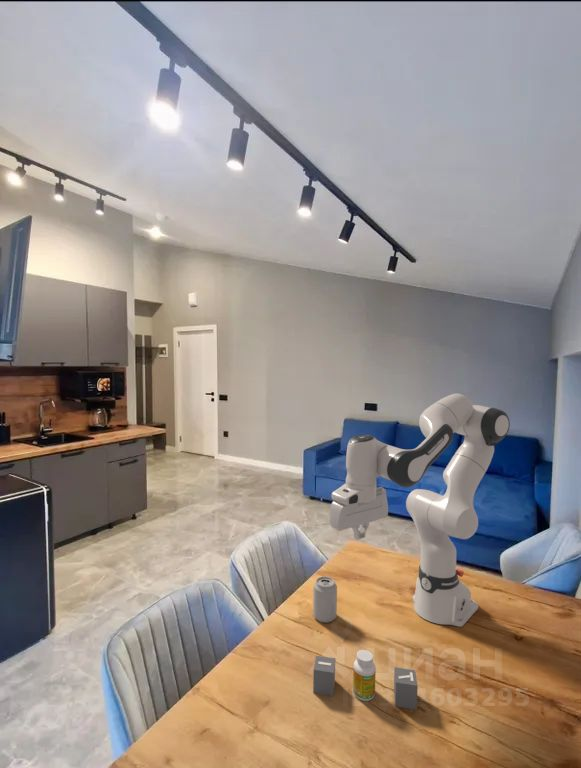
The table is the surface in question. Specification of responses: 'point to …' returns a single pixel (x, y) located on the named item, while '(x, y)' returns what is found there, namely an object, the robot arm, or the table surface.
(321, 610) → the can
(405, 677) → the letter t block
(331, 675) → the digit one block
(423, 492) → the robot arm
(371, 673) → the supplement bottle
